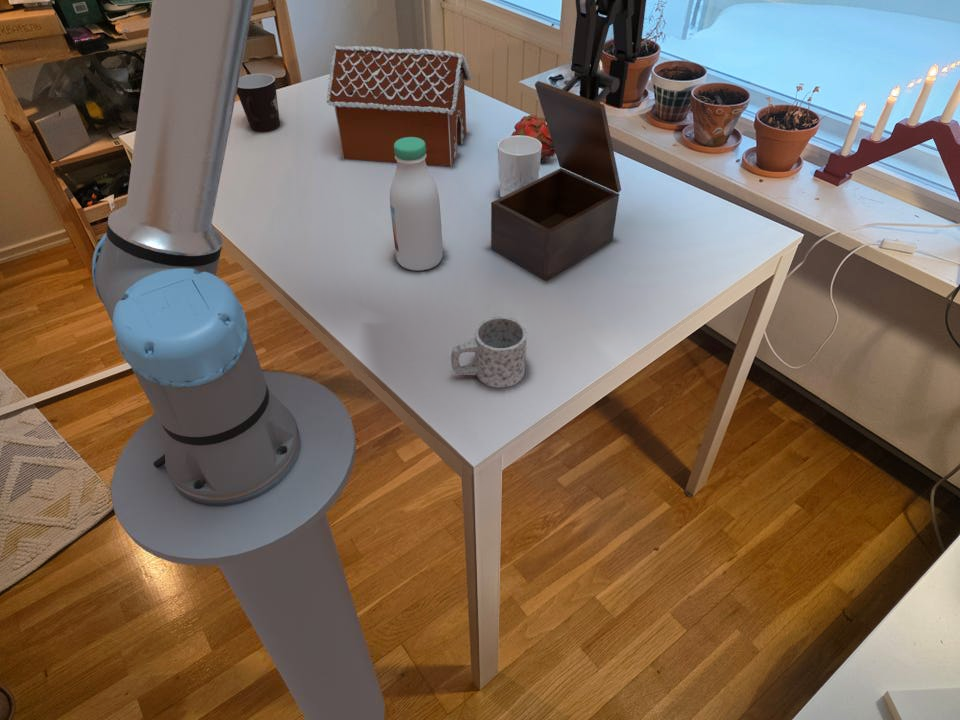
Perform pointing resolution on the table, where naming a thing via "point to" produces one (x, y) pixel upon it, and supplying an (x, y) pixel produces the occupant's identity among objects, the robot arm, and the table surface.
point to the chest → (553, 222)
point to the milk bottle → (415, 208)
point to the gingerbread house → (398, 101)
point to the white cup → (518, 162)
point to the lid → (581, 130)
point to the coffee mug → (259, 101)
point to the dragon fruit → (536, 133)
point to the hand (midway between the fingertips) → (600, 111)
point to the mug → (495, 352)
